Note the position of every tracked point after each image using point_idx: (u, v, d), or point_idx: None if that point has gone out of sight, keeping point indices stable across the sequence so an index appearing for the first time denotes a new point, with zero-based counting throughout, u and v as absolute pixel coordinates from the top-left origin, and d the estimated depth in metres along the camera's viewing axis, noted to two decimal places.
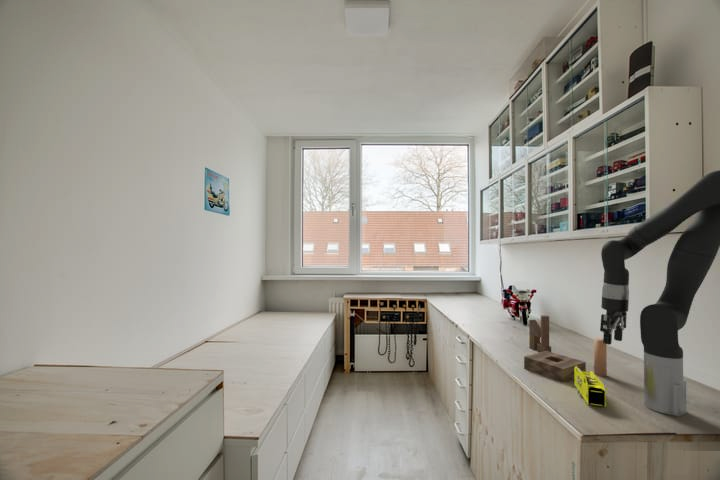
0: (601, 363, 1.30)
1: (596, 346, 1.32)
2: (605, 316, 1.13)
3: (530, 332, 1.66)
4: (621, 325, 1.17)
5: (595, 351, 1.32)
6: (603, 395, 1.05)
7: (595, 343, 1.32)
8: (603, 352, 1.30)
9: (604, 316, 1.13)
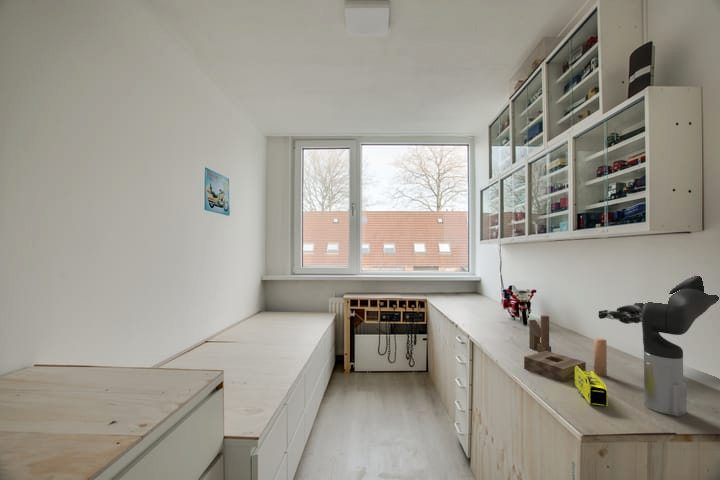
0: (601, 363, 1.30)
1: (596, 346, 1.32)
2: (641, 318, 1.38)
3: (530, 332, 1.66)
4: (610, 318, 1.44)
5: (595, 351, 1.32)
6: (605, 395, 1.05)
7: (595, 343, 1.32)
8: (603, 352, 1.30)
9: (641, 318, 1.38)
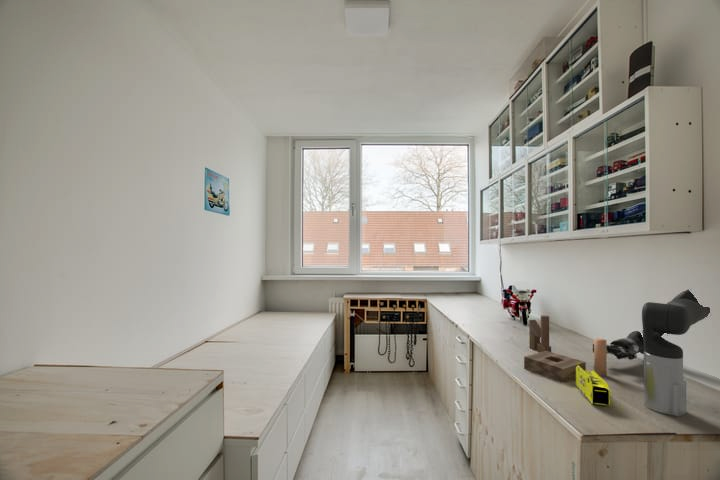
0: (601, 363, 1.30)
1: (596, 346, 1.32)
2: (636, 354, 1.35)
3: (530, 332, 1.66)
4: None
5: (595, 351, 1.32)
6: (607, 394, 1.05)
7: (595, 343, 1.32)
8: (603, 352, 1.30)
9: (636, 353, 1.35)
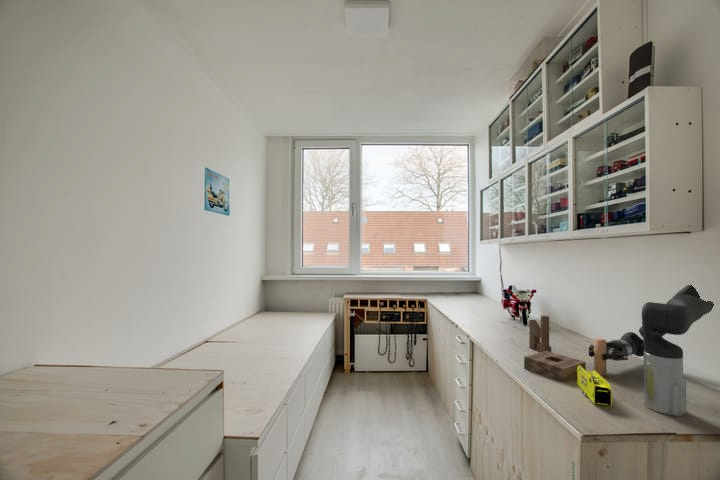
0: (601, 363, 1.30)
1: (596, 346, 1.32)
2: (627, 356, 1.30)
3: (530, 332, 1.66)
4: None
5: (595, 351, 1.32)
6: (609, 394, 1.05)
7: (595, 343, 1.32)
8: (603, 352, 1.30)
9: (627, 356, 1.30)
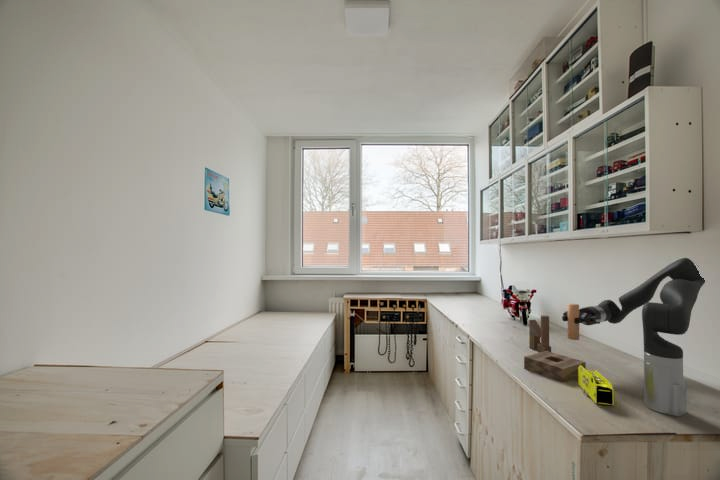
0: (574, 327, 1.33)
1: (569, 311, 1.35)
2: (599, 320, 1.33)
3: (530, 332, 1.66)
4: None
5: (568, 316, 1.35)
6: (611, 394, 1.05)
7: (568, 308, 1.35)
8: (576, 316, 1.33)
9: (599, 319, 1.33)
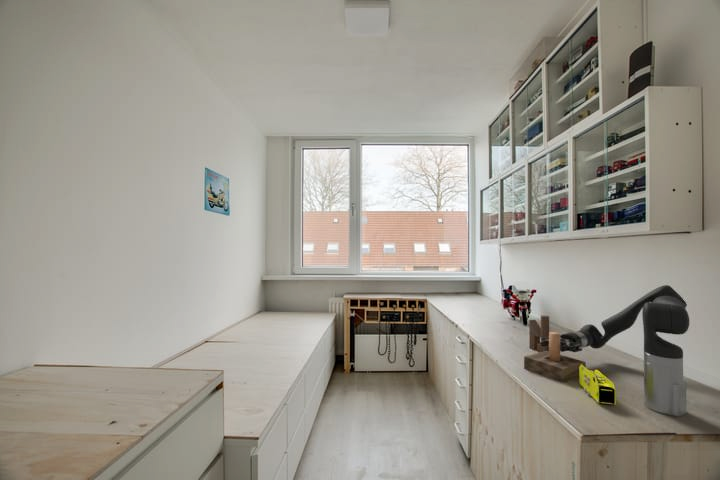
0: (555, 356, 1.34)
1: (550, 340, 1.35)
2: (581, 347, 1.33)
3: (530, 332, 1.66)
4: None
5: (550, 344, 1.36)
6: (613, 393, 1.06)
7: (550, 337, 1.36)
8: (557, 345, 1.34)
9: (581, 346, 1.33)
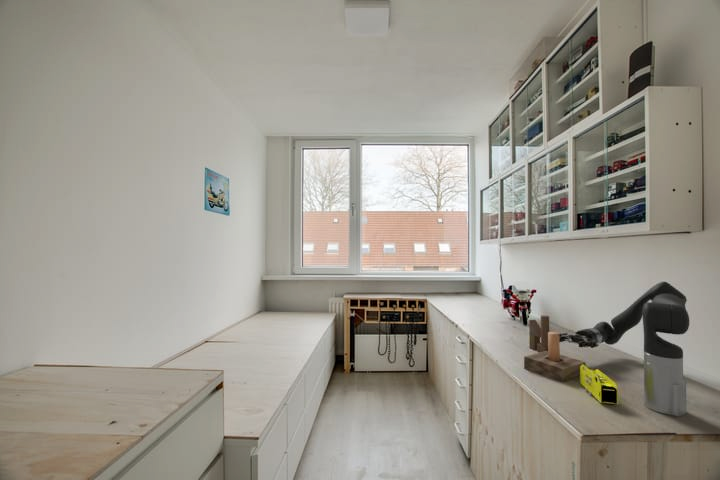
0: (554, 356, 1.34)
1: (549, 340, 1.35)
2: (598, 343, 1.40)
3: (530, 332, 1.66)
4: (569, 341, 1.46)
5: (549, 344, 1.36)
6: (615, 393, 1.06)
7: (549, 337, 1.36)
8: (556, 345, 1.34)
9: (598, 342, 1.40)
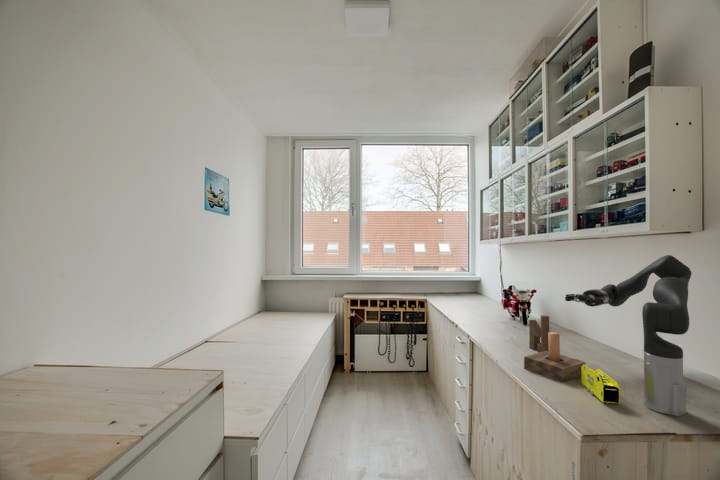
0: (555, 356, 1.34)
1: (550, 340, 1.35)
2: (605, 300, 1.43)
3: (530, 332, 1.66)
4: (576, 301, 1.50)
5: (549, 345, 1.35)
6: (617, 393, 1.06)
7: (549, 337, 1.35)
8: (556, 345, 1.33)
9: (605, 300, 1.43)
